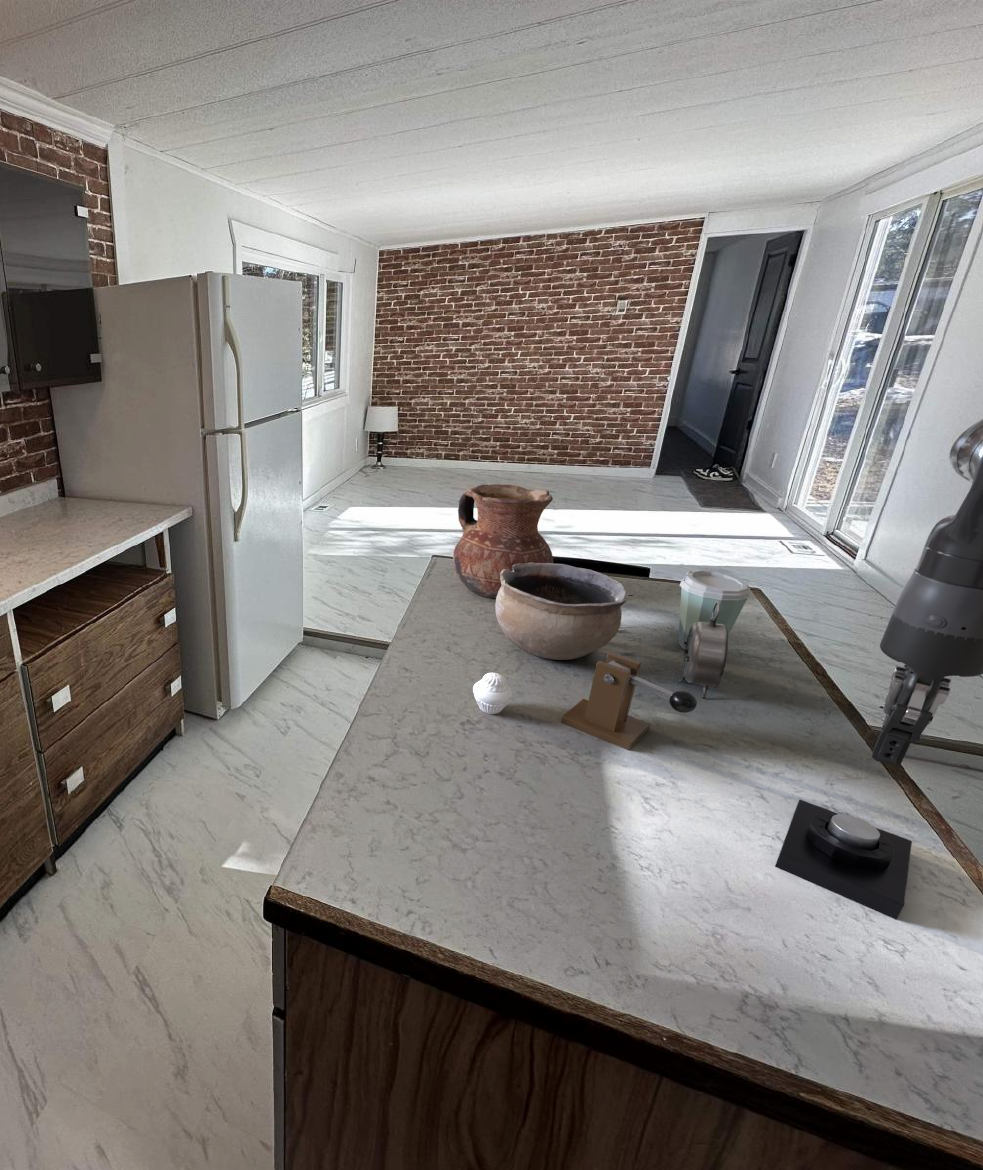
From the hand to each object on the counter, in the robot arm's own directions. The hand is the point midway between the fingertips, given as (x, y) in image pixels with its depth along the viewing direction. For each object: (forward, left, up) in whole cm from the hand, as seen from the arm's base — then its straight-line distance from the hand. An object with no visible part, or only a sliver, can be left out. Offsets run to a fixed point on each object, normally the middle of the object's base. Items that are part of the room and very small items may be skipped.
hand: (885, 760), depth 69 cm
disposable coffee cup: (-2, -56, -15) cm, 58 cm away
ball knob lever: (+17, -20, -7) cm, 27 cm away
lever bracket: (+20, -22, -15) cm, 34 cm away
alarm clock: (+3, -40, -15) cm, 43 cm away
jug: (+33, -78, -15) cm, 87 cm away
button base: (0, 0, -15) cm, 15 cm away
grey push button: (0, 0, -11) cm, 11 cm away
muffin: (+37, -22, -15) cm, 46 cm away
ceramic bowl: (+25, -48, -15) cm, 57 cm away
